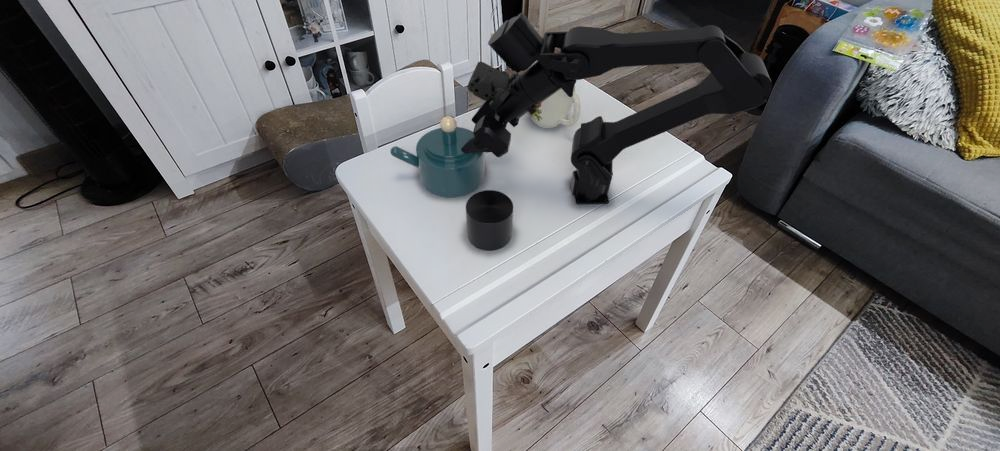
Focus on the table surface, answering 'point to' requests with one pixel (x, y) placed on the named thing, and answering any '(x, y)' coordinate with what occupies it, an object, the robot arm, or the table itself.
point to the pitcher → (556, 110)
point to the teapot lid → (447, 139)
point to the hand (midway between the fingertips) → (468, 135)
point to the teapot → (445, 170)
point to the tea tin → (489, 220)
